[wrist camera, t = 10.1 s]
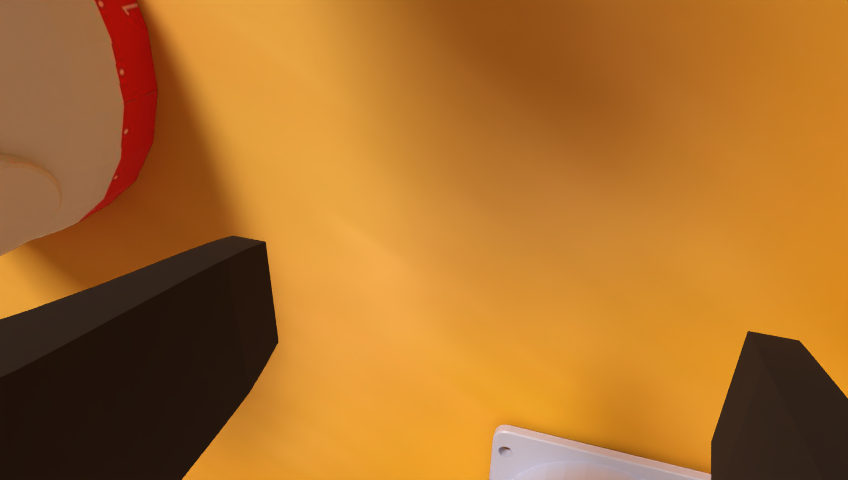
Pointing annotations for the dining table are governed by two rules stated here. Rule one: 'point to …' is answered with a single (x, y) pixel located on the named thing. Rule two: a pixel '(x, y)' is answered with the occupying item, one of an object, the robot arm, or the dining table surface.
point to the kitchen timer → (70, 111)
